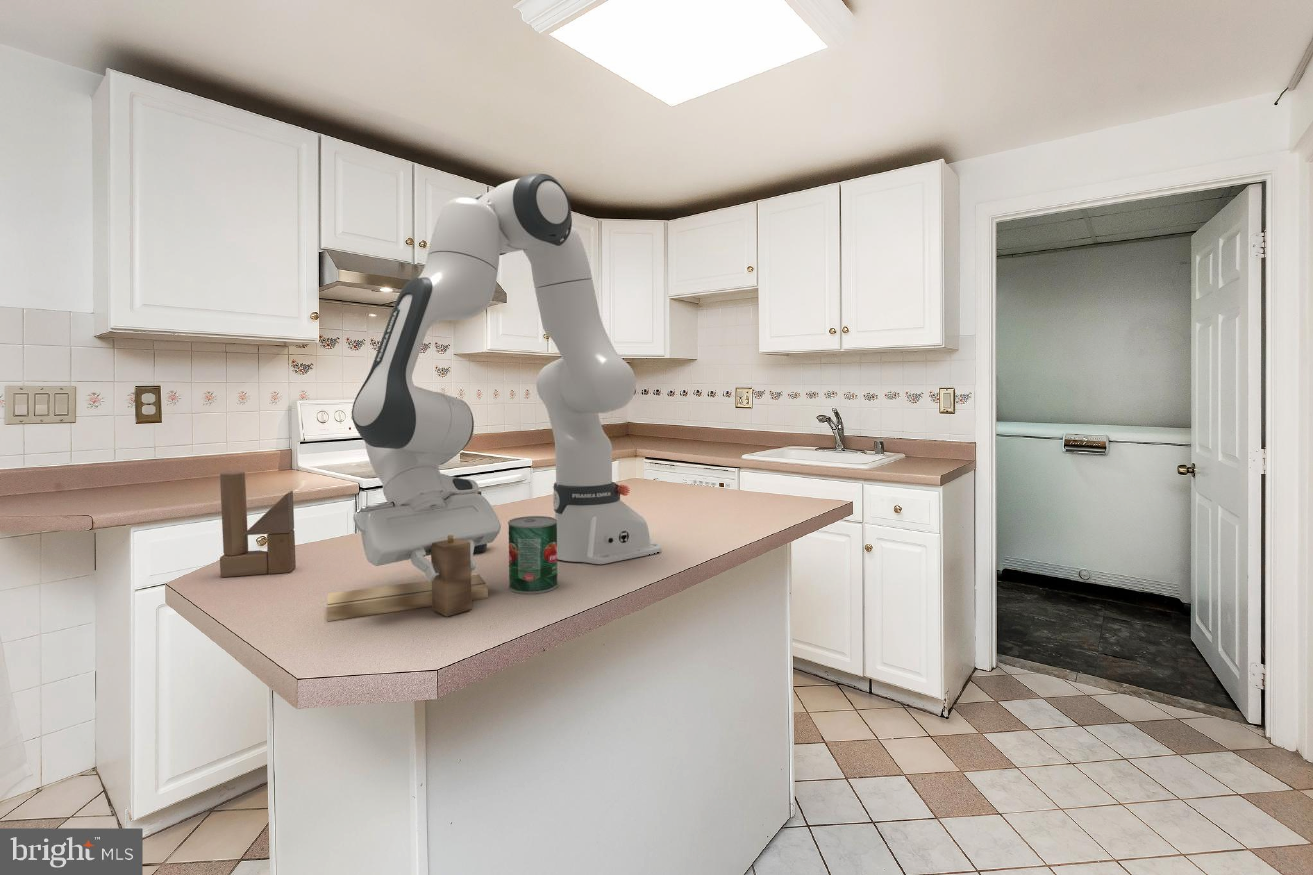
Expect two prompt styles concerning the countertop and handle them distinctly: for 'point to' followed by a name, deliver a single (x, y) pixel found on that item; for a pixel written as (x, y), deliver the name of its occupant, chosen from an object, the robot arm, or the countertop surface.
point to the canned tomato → (532, 554)
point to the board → (390, 598)
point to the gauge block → (452, 576)
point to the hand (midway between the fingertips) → (453, 574)
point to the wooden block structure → (254, 532)
